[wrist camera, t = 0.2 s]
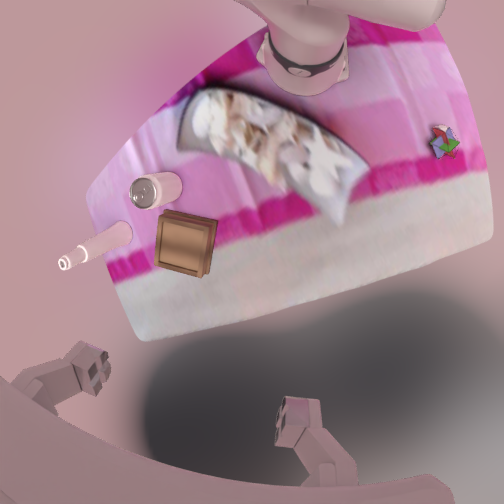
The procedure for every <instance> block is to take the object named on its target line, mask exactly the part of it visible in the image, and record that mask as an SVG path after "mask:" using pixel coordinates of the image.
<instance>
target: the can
mask: <svg viewBox="0 0 504 504" xmlns="http://www.w3.org/2000/svg"><path fill="white" fill-rule="evenodd" d="M181 192H182V182H181V179H180V178H179V177H178V176H177V175H176V174H175V173H172V172H163V173H155V174H147V175H143V176H141V177H139V178H138V179H136V180H135V181H134V182H133V183H132V185H131V187H130V199H131V201H132V203H133V204H134V205H135V206H136V207H138V208H140V209H146V210H149V209H153V208H156V207H159V206H161V205H164V204H167V203H169V202H172V201H174V200H176V199H177V198H178V197H179V196H180V194H181Z"/></svg>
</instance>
